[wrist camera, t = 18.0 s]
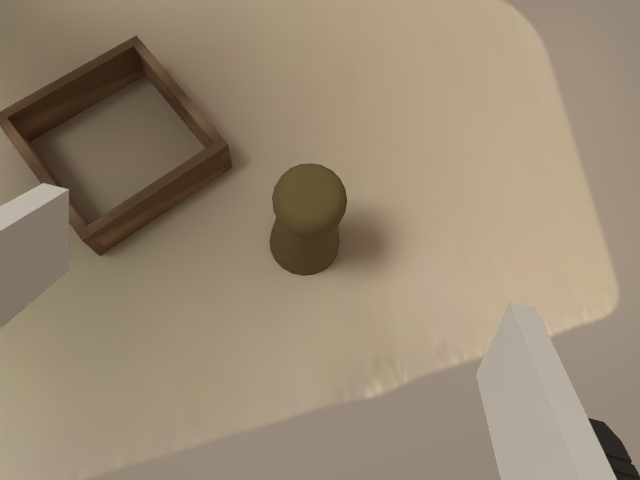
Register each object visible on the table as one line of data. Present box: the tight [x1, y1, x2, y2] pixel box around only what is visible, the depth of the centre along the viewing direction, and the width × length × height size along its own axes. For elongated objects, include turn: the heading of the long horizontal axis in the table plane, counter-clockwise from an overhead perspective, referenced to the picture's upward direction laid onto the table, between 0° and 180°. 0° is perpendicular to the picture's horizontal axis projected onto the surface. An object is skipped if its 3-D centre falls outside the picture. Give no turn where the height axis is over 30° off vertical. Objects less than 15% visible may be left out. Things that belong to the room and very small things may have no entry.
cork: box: [270, 164, 347, 276], centre depth 40 cm, size 6×6×11 cm
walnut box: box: [0, 36, 232, 255], centre depth 44 cm, size 14×14×4 cm
